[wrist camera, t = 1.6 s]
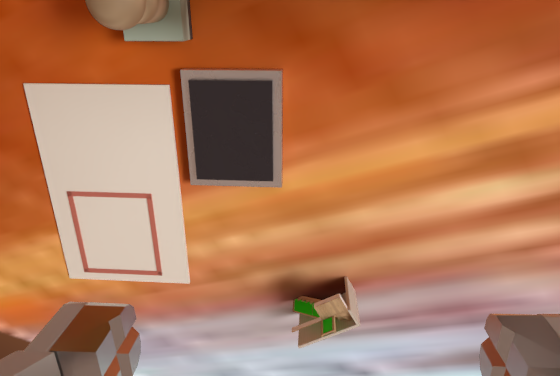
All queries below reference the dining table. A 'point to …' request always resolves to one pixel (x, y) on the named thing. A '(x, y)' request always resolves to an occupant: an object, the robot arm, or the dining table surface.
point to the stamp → (145, 18)
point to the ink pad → (234, 126)
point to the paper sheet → (112, 179)
